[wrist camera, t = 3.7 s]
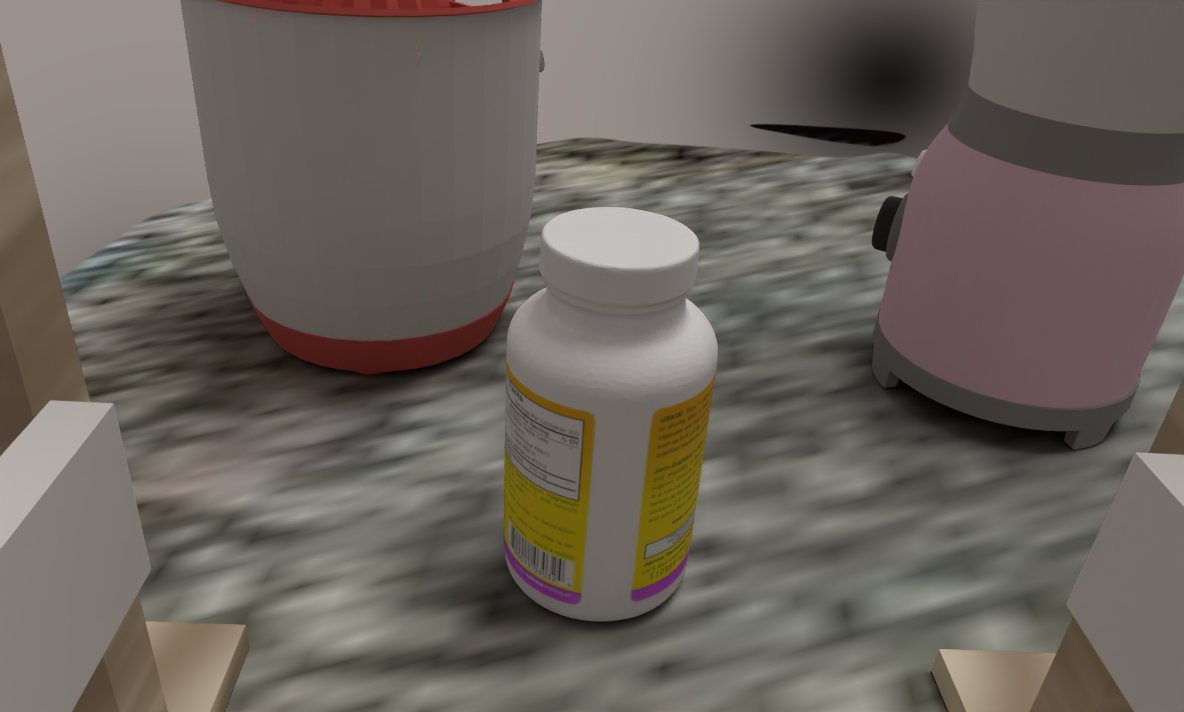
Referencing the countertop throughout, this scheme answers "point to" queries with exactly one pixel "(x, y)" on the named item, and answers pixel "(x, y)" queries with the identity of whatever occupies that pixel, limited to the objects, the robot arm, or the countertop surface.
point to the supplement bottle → (606, 415)
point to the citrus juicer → (370, 167)
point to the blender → (1043, 220)
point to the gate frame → (217, 651)
